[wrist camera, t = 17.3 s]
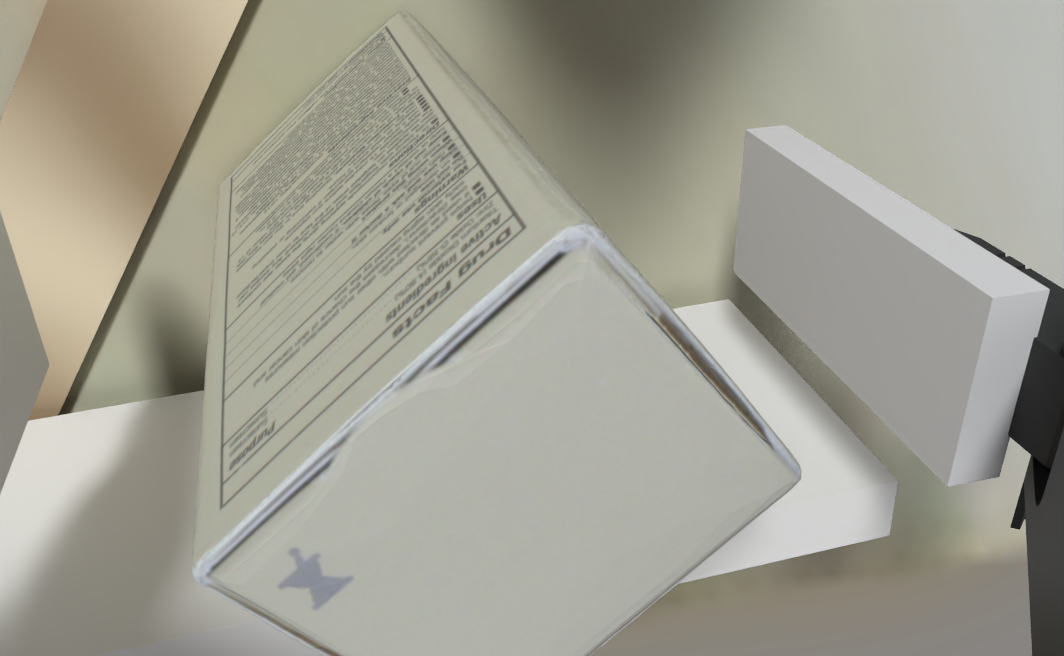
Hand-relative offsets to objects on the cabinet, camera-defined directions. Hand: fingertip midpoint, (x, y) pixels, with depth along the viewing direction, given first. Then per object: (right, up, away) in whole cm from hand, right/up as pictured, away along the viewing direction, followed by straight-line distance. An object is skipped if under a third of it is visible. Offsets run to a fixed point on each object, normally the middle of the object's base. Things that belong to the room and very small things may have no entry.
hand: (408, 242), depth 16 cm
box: (-1, +2, +3) cm, 4 cm away
